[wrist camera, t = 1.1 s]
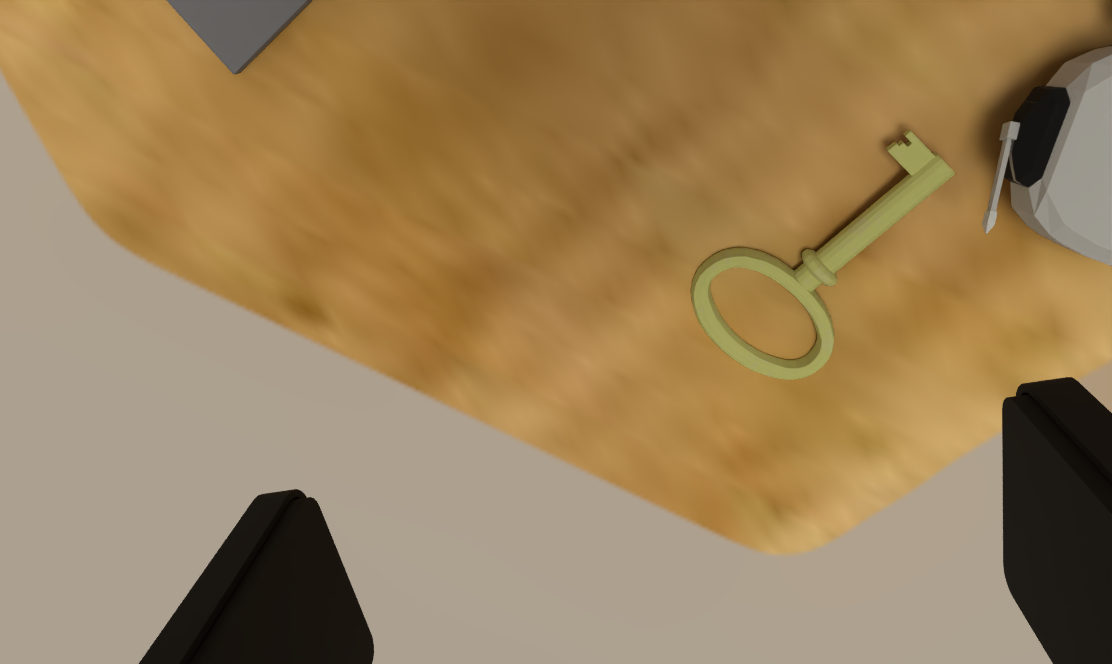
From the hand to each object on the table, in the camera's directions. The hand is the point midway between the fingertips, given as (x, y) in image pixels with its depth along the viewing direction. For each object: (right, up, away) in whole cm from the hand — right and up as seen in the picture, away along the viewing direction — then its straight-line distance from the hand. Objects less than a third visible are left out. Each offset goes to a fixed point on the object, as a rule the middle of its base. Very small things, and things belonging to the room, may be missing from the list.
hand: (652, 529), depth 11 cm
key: (+10, +6, +25) cm, 28 cm away
